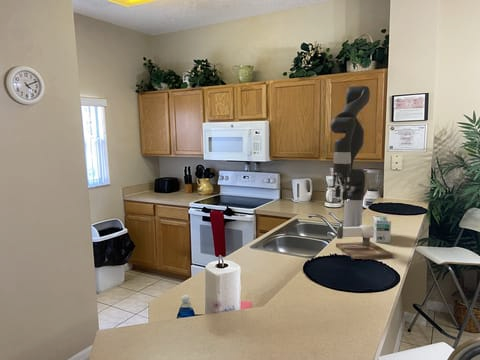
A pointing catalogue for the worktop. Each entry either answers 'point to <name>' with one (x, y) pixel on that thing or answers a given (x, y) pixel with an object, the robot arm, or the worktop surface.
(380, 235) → the light bulb box
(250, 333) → the worktop surface
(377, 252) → the base
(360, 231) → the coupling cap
